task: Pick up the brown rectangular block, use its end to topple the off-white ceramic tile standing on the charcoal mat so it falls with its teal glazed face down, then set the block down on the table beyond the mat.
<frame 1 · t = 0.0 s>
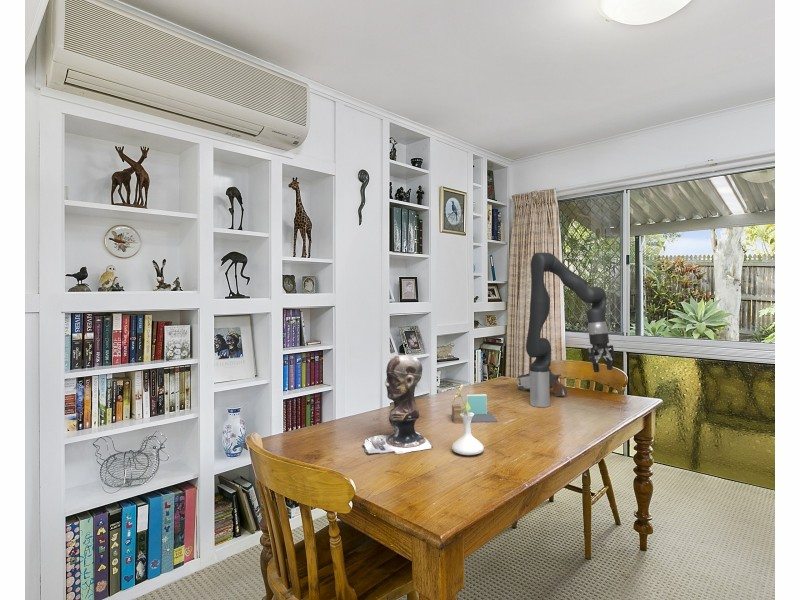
hand: (603, 370, 190), 22 cm above the table, tool pointing down, fingers open, 8 cm apart
brown rectangular block: (457, 420, 200), on the table
head bust: (394, 444, 171), on the table
mat: (478, 417, 203), on the table
flower in vase: (466, 453, 160), on the table
gun: (541, 393, 247), on the table
tile: (476, 414, 207), resting on mat
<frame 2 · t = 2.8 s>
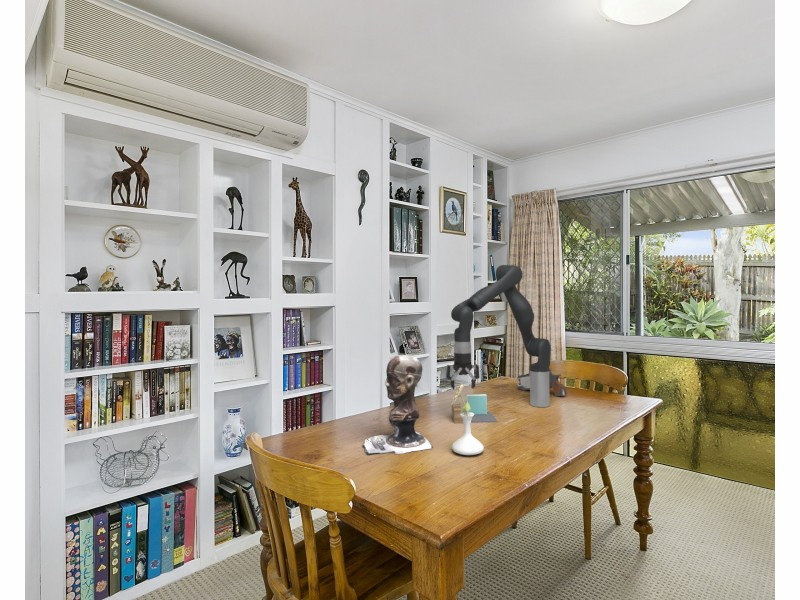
hand: (462, 388, 196), 15 cm above the table, tool pointing down, fingers open, 8 cm apart
nothing on the table moved.
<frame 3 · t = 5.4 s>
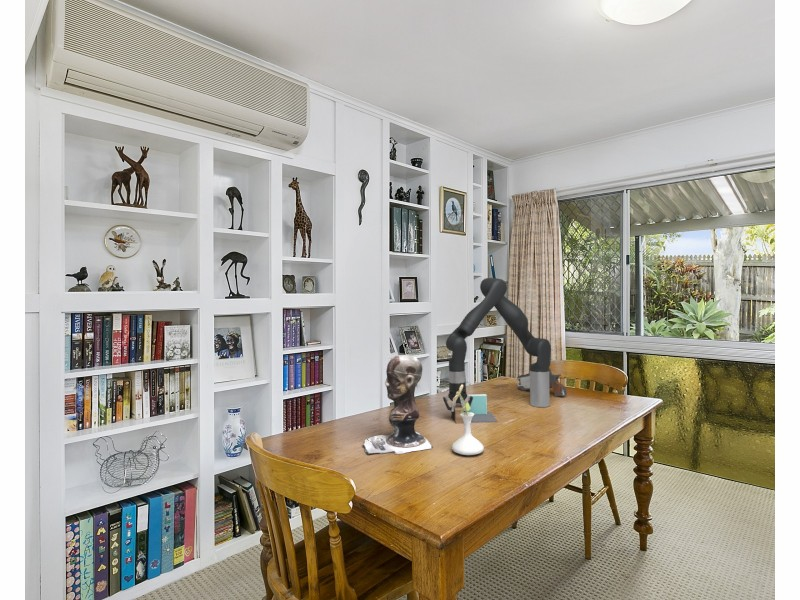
hand: (458, 418, 200), 1 cm above the table, tool pointing down, fingers closed on brown rectangular block, 3 cm apart
brown rectangular block: (458, 420, 200), on the table, touching gripper
everything else where it was.
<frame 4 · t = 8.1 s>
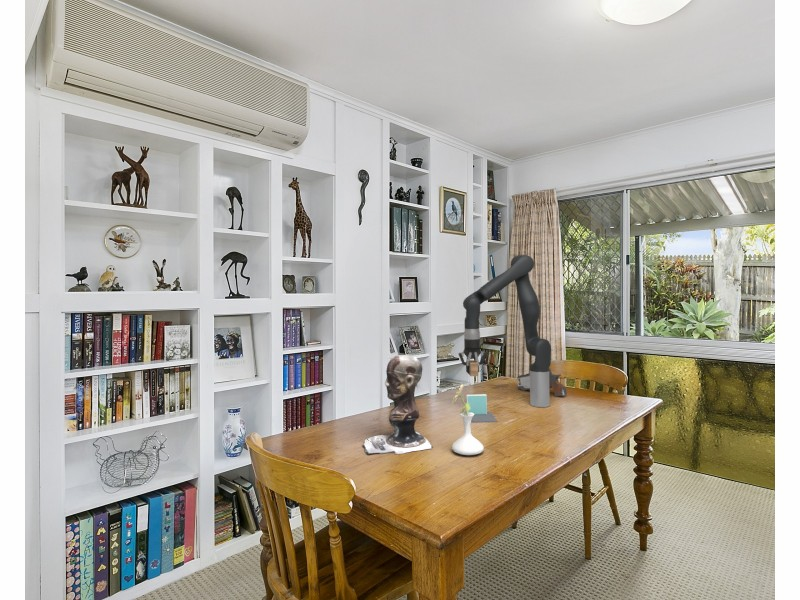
hand: (472, 373, 216), 18 cm above the table, tool pointing down, fingers closed on brown rectangular block, 3 cm apart
brown rectangular block: (472, 374, 216), point 17 cm above the table, touching gripper
everything else where it was.
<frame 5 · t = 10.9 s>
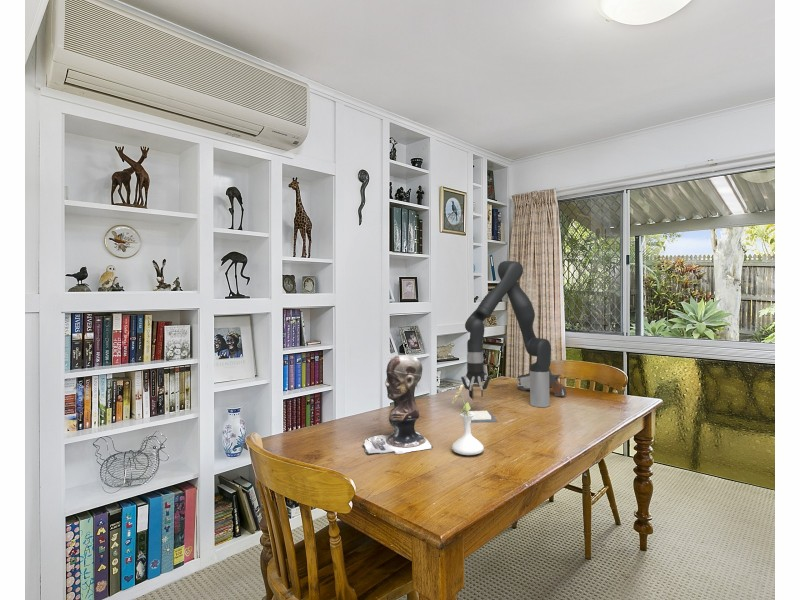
hand: (475, 397, 208), 8 cm above the table, tool pointing down, fingers closed on brown rectangular block, 3 cm apart
brown rectangular block: (475, 399, 208), point 7 cm above the table, touching gripper
tile: (477, 412, 206), point 2 cm above the table, tilted 90°, touching mat
everything else where it was.
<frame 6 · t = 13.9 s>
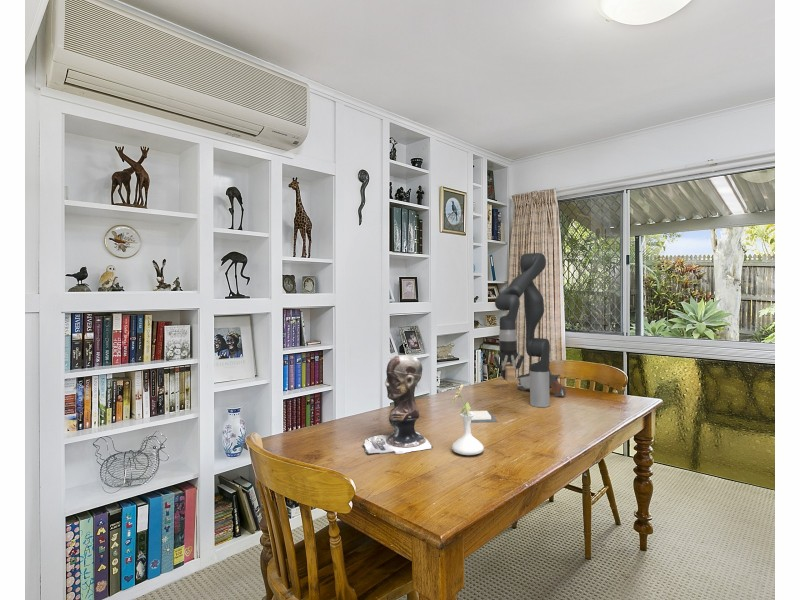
hand: (508, 378, 199), 19 cm above the table, tool pointing down, fingers closed on brown rectangular block, 3 cm apart
brown rectangular block: (508, 379, 199), point 18 cm above the table, touching gripper
everything else where it was.
when the fingers open (2 cm above the table, at t = 16.6 s): brown rectangular block drops 2 cm, on the table.
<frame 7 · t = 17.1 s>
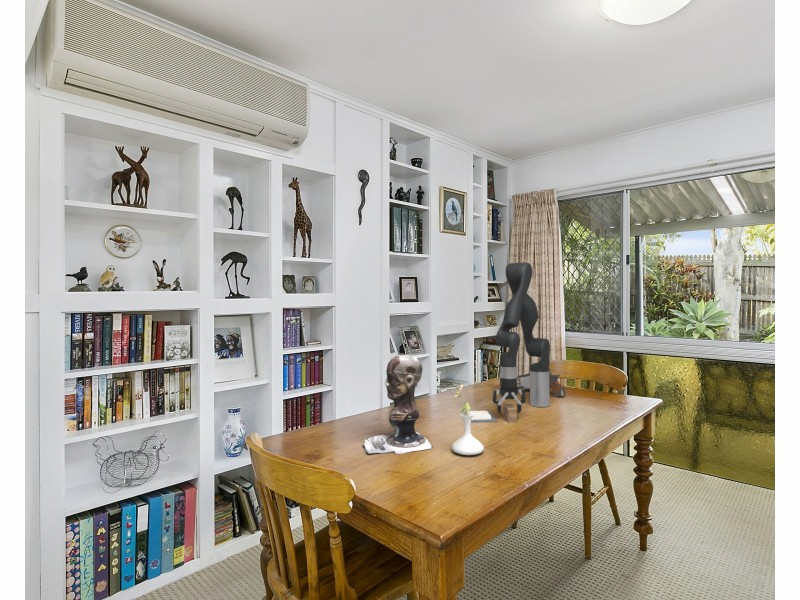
hand: (509, 412, 199), 3 cm above the table, tool pointing down, fingers open, 8 cm apart
brown rectangular block: (509, 420, 199), on the table
everything else where it was.
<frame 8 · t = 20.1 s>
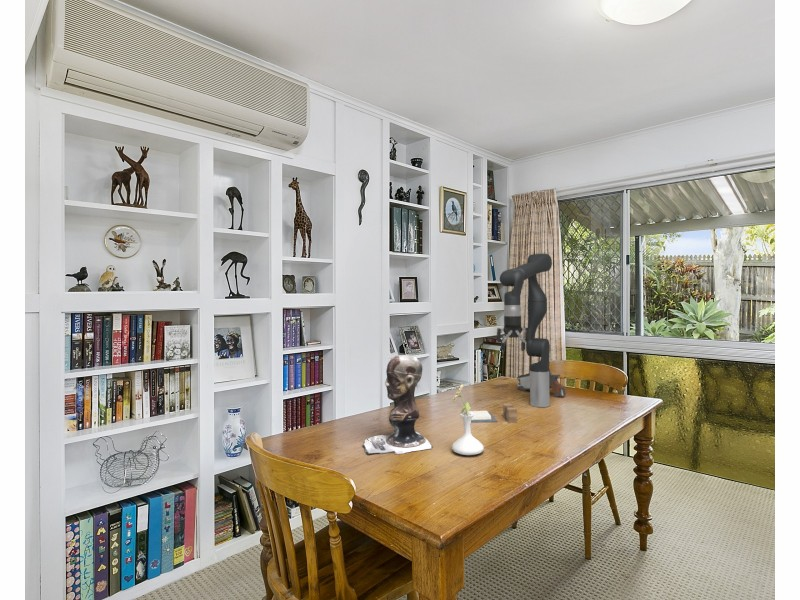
hand: (513, 351, 201), 30 cm above the table, tool pointing down, fingers open, 8 cm apart
nothing on the table moved.
at the end: tile tilted 90°; tile inside the target area (1.4 cm from its centre), point 1.6 cm above the table; brown rectangular block inside the target area (0.3 cm from its centre), on the table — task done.
